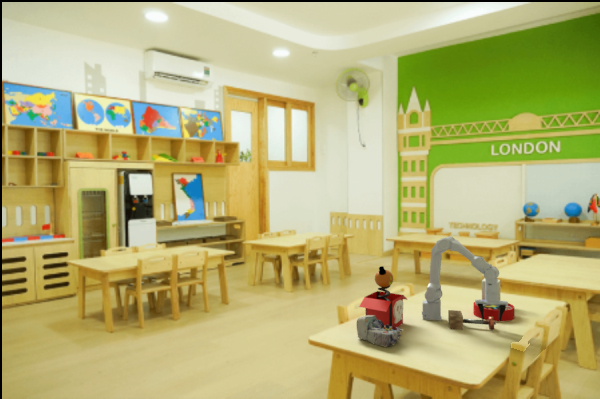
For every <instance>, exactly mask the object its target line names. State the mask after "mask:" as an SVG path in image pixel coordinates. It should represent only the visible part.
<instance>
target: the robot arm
mask: <svg viewBox="0 0 600 399" xmlns="http://www.w3.org/2000/svg"><path fill="white" fill-rule="evenodd" d="M448 250H449V251H451V252H458V254H460V255H462V256H463V257H464V258H465V259H467V260H469V261H470V263H471V266H472V267H473V268H475V269H476V270H477V271H478V272H480V273H481V274H482V275H483V278H485V300H482V299H475V300H474V302H475V304H476V305H478V307H479V310H480V313H481V317H482V319H481V320H485V319H484V307H483V305H498V306H499V321H498V322H502V321H501V318H502V315H503V313H504V311H505V309H506V307H505V306H508V303H509V301H505V300H500V301H499V300H498V280H499V278H498V277H499V275H500V270H499V269H498V268H497V267H496V266H494V265H492V264H491V263H489V262H487V261H486V260H485V258H484V257H483V256H476V255H475V254H474V253H472V252H471V251H470V250H469V249H468V248H467V247H465V245H463V244H462V243H461V242H460V241H459V240H457V239H455V238H454V237H453V236H450V235H449V236H446V237H443V238H440V239H438V240H437V241H436V243H435V244H434V245H433V247H432V248H431V250H430V262H429V264H430V265H429V266H430V267H429V281H428V285H427V287H426V291H425V294H424V298H425V300H422V311H421V315H422V320H424V321H425V320H426V321H427V320H428V321H440V322H441V321H443V319H442V312H441V311H442V308H441V304H442V302H441V298H442V297H443V291H442V285H441V282H440V281H441V269H442V268H441V266H442V256H443V255H442V254H444V253H445V252H446V251H448Z"/></svg>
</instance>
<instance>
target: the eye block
mask: <svg viewBox="0 0 600 399" xmlns="http://www.w3.org/2000/svg"><path fill="white" fill-rule="evenodd" d="M447 316H448V317H447V320H448V321H447V322H448V327H449V329H450V330H456V331H457V330H458V331H463V330H464V323H463V319H464V316H463V313H462V311H461V310H453V309H451V310H450V309H448V315H447Z"/></svg>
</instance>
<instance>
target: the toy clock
mask: <svg viewBox="0 0 600 399" xmlns="http://www.w3.org/2000/svg"><path fill="white" fill-rule="evenodd" d="M483 307H484V320H488V318H489V316H490V317H494V321H496V322H509V321H513V320H514V319H515V306H514V305H513V304H512V303H509V302H508V306H505V307H506V309H505V311H504V313H503V315H502V318H501V321H499V306H498V305H483ZM473 315H474V316H475V317H477V318H479V319H480V320H482V317H481V313H480V310H479V307H478V305H476V304H475V301H473Z"/></svg>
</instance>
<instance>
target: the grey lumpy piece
mask: <svg viewBox="0 0 600 399" xmlns="http://www.w3.org/2000/svg"><path fill="white" fill-rule="evenodd" d="M356 330H357V331H356V332H357V338H359V339H360V340H364V341H366V342H368V343H370V344H373V343H374V344H373V345H376V346H379V345H381V347H384V348H387V347H390V346H395V344H396V342H397V341H399V342H400V341H401V339H400V337H402V334H401V332H403V330H404V329H402V328H400V327H396V326H395V324H392V326H389V324H387V325H386V326H384V324H383V322H382V321H381V320H377V318H376V316H375V315H366V314H365V315H363V316H361V317H358V318H357V319H356Z"/></svg>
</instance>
